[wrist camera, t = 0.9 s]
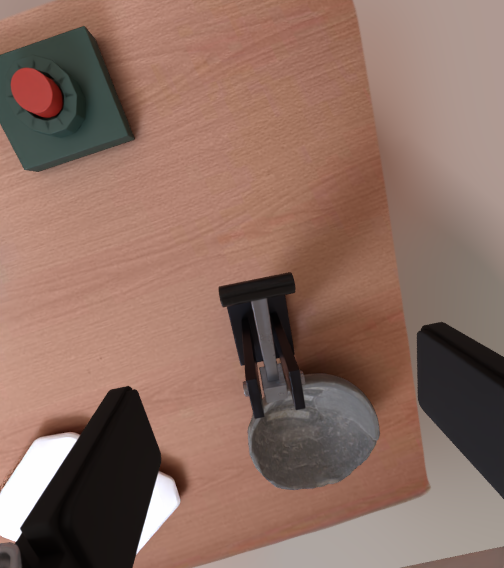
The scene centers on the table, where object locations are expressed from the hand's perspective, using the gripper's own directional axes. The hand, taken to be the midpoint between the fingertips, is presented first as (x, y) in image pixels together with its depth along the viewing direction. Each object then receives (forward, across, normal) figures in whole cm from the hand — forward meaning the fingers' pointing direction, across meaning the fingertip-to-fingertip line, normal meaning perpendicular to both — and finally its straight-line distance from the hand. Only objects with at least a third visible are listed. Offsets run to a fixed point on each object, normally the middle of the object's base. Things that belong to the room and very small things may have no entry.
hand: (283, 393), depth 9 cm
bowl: (+29, -4, +26) cm, 39 cm away
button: (+25, +16, -19) cm, 36 cm away
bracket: (+29, 0, +11) cm, 31 cm away
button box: (+29, +16, -19) cm, 38 cm away
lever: (+14, 0, +5) cm, 15 cm away
